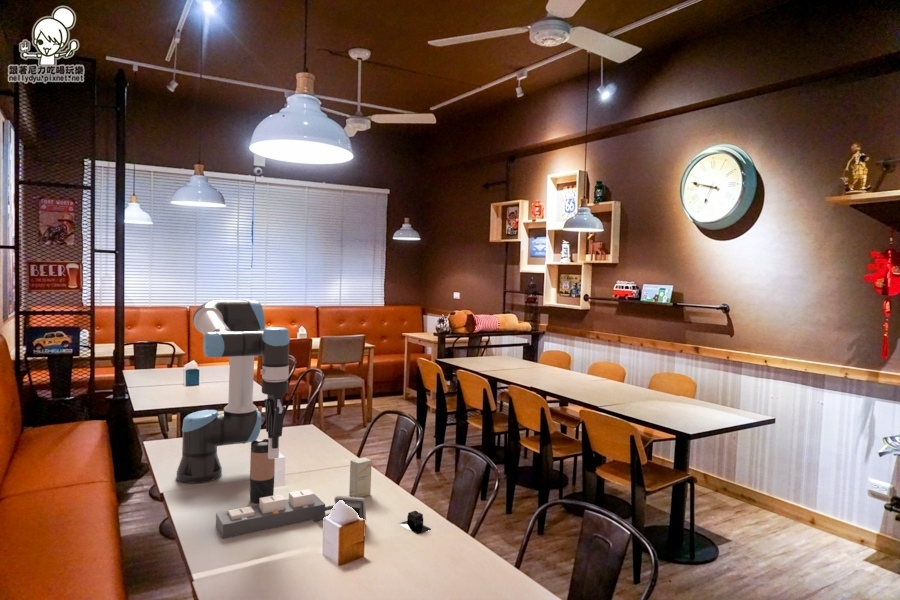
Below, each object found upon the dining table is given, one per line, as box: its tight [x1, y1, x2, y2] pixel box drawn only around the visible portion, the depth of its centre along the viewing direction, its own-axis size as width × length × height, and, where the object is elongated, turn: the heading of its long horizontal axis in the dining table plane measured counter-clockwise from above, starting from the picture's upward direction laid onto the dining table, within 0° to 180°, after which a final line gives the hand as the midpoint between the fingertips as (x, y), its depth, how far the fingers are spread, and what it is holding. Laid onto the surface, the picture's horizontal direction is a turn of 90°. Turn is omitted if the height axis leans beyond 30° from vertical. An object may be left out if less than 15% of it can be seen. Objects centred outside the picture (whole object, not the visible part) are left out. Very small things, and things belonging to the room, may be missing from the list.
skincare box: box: [348, 456, 373, 498], centre depth 199 cm, size 6×4×12 cm
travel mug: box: [249, 438, 276, 505], centre depth 189 cm, size 8×8×20 cm
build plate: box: [398, 510, 432, 535], centre depth 176 cm, size 12×7×5 cm, turn 43°
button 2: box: [258, 494, 286, 514], centre depth 174 cm, size 4×6×5 cm
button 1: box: [227, 505, 254, 520], centre depth 169 cm, size 4×6×5 cm
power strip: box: [215, 493, 335, 539], centre depth 175 cm, size 9×36×5 cm, turn 124°
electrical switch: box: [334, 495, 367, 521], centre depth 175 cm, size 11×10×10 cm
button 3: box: [288, 488, 315, 508], centre depth 179 cm, size 4×6×5 cm
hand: (273, 457), depth 173 cm, fingers closed
